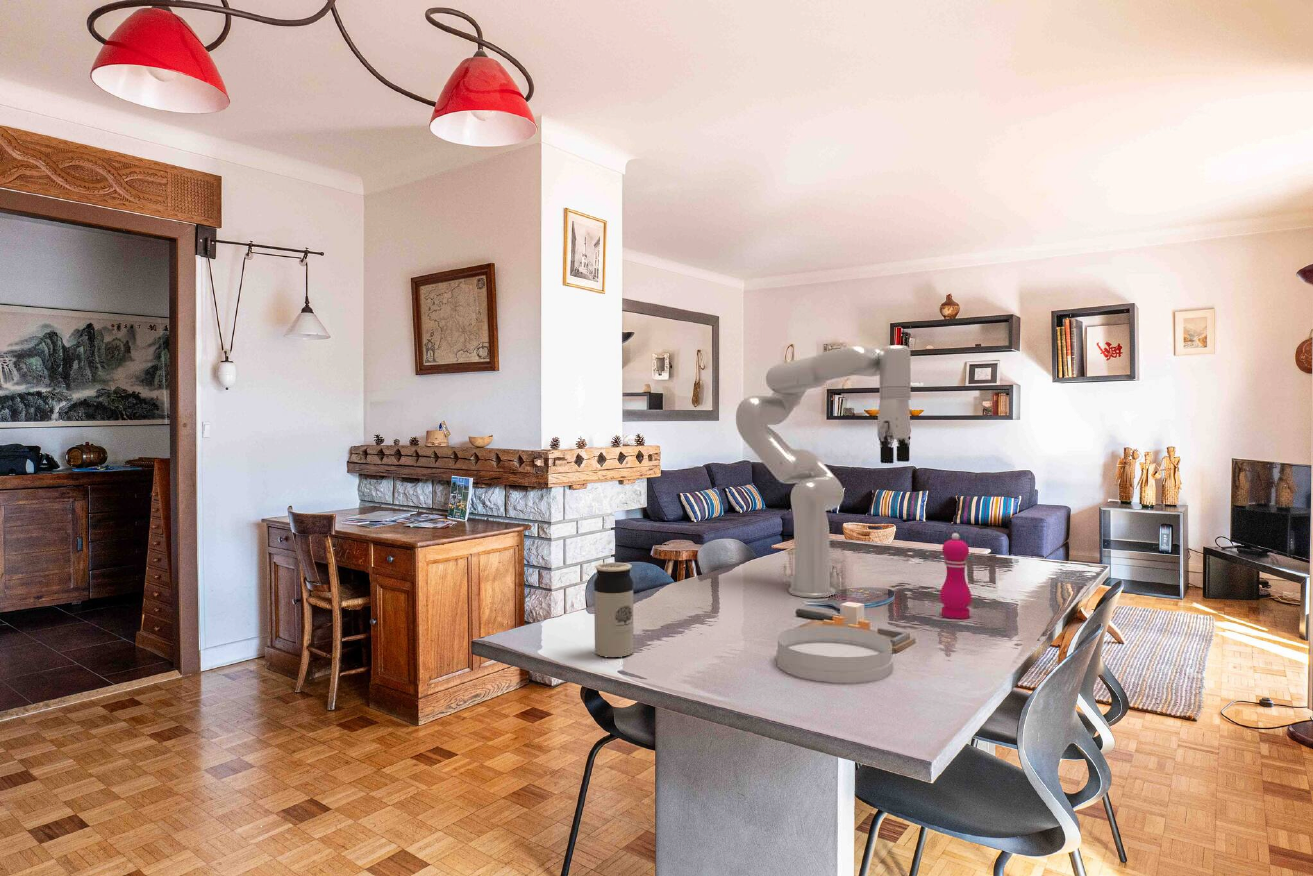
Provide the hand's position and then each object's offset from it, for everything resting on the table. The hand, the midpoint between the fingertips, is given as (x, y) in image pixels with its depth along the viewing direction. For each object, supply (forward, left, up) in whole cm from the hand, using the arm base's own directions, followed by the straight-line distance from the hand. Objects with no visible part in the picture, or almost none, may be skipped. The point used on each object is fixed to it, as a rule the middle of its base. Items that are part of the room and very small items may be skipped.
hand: (895, 462), depth 194 cm
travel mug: (-28, -74, -37) cm, 87 cm away
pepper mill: (+15, 0, -37) cm, 40 cm away
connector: (-6, -24, -37) cm, 44 cm away
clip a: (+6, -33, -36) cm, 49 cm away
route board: (+5, -33, -37) cm, 49 cm away
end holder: (+12, -33, -36) cm, 50 cm away
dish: (+10, -52, -37) cm, 65 cm away
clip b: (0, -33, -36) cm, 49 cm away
